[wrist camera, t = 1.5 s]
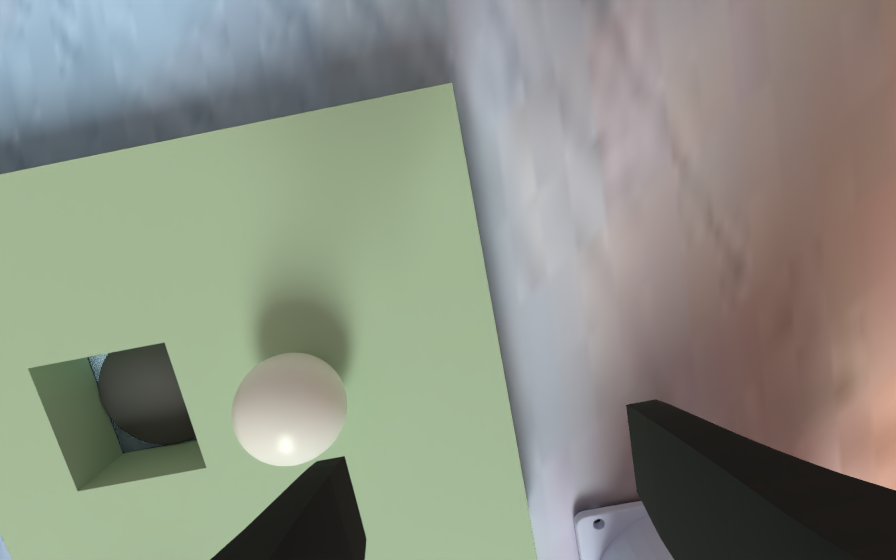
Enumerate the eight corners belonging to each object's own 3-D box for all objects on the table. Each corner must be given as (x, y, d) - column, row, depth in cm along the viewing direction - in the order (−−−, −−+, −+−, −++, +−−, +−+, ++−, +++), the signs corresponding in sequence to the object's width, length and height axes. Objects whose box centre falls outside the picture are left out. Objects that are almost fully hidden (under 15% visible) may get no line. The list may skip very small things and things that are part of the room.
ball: (343, 329, 16) (316, 368, 13) (366, 419, 17) (346, 480, 13) (246, 347, 16) (193, 391, 13) (272, 436, 17) (229, 501, 13)
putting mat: (450, 97, 17) (452, 82, 14) (526, 516, 21) (537, 561, 18) (-66, 201, 17) (-149, 204, 15) (96, 592, 21) (50, 646, 19)
